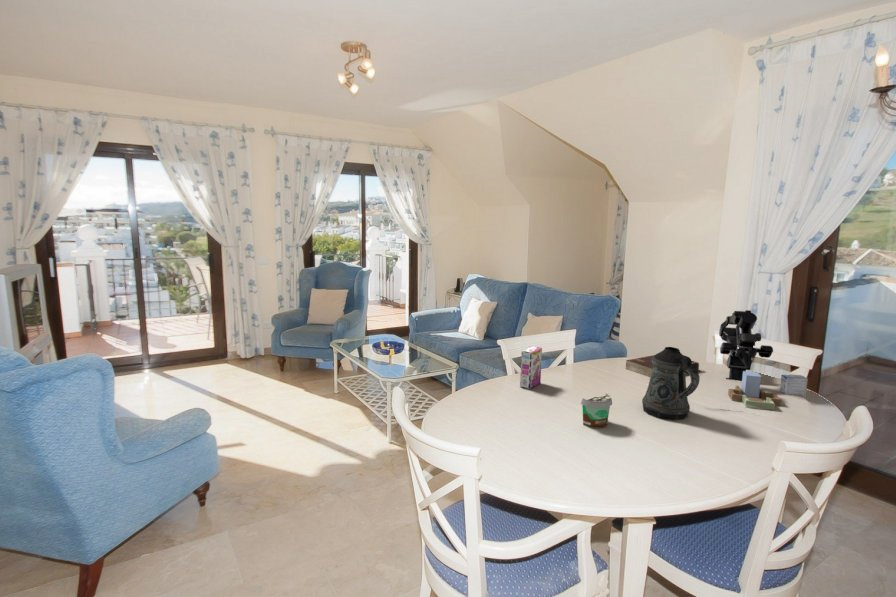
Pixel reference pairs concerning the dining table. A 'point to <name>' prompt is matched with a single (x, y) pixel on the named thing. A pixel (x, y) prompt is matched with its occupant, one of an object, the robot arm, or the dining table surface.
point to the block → (751, 384)
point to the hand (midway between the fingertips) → (747, 367)
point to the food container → (596, 411)
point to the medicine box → (793, 384)
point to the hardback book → (646, 365)
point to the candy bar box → (531, 367)
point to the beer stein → (670, 385)
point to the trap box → (755, 399)
